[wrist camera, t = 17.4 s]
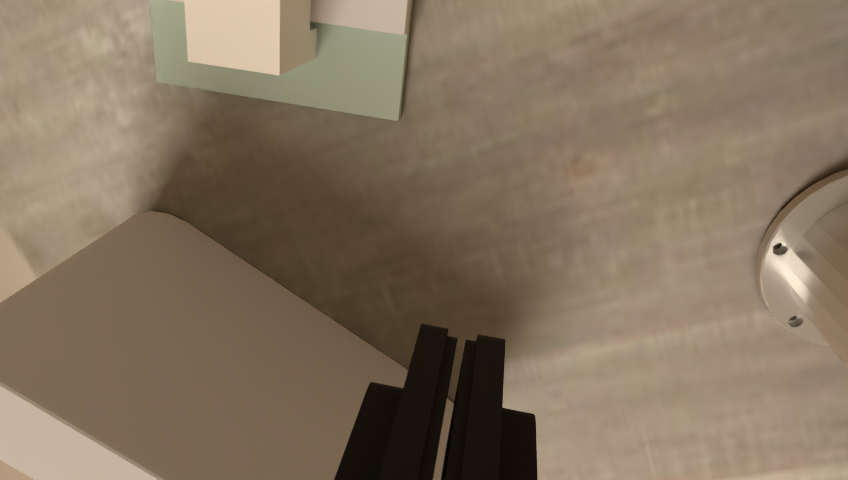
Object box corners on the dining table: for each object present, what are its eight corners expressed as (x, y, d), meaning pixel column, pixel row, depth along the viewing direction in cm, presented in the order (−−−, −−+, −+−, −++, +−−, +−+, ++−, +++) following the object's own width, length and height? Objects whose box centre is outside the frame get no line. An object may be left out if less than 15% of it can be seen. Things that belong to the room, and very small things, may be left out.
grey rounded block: (119, 271, 46) (-97, 437, 30) (156, 199, 43) (-66, 344, 27) (414, 460, 50) (363, 698, 34) (468, 408, 47) (439, 644, 31)
